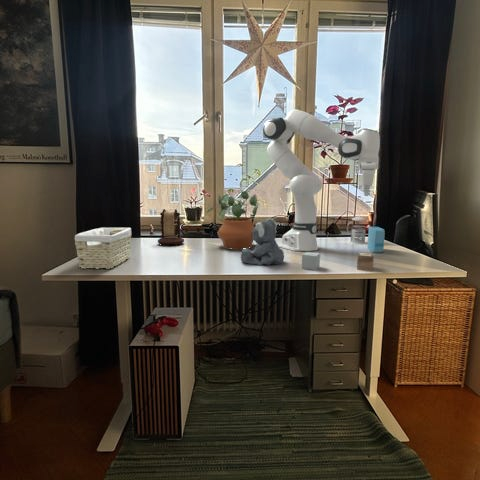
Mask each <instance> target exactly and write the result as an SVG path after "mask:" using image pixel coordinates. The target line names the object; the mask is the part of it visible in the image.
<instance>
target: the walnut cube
mask: <svg viewBox="0 0 480 480" xmlns="http://www.w3.org/2000/svg"><path fill="white" fill-rule="evenodd" d="M373 268H374V255H373V253H365V252H357V258H356V269H357V271H358V270H359V271H371V272H373V271H374V270H373Z"/></svg>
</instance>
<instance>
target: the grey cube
mask: <svg viewBox="0 0 480 480" xmlns="http://www.w3.org/2000/svg"><path fill="white" fill-rule="evenodd" d="M320 262H321V253H319V252H311V251H305V252H304V253H302V254H301V269H303V270H305V269H306V270H313V271H317V270H318V268H320V267H321V265H320V264H321V263H320Z"/></svg>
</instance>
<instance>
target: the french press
mask: <svg viewBox="0 0 480 480" xmlns="http://www.w3.org/2000/svg"><path fill="white" fill-rule="evenodd" d="M362 202H363V199H359V200H358V203H362ZM360 213H361V211H359V215H358V216H355V217H353V218H351V220H352V221H349V222H348V223H347V225H346V227H349V226H350V224H351V225H352V228H351V233H350V232H349V228H346V232H347V233H348V234H349V235H350V241H349V242H348V243H349V244H351V243H352V244H351V245H366V244H367V245H368V242H366V234H367V233H366V226H365V225H360V224H357V225H355V224H354V222H353V221H355V222H366V221H367V219H366V218H365V217H363V216H360V215H361V214H360Z"/></svg>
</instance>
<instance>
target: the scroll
mask: <svg viewBox="0 0 480 480" xmlns="http://www.w3.org/2000/svg"><path fill="white" fill-rule="evenodd" d="M180 215H181V213H180V212H178V210H177V208H175V209H174V210H173V211H167V210H166V209H165V208H163V209H162V212H160V222H159V223H160V225H161V226H160V231H161V237H160V238H159V239H157V243H158V244H161V245H173V244H174V245H175V246H176V245H177V246H178V244H182V243H184V242H185V239H184V238H183V237H181V224H182V223H181V221H180V220H181V218H180Z"/></svg>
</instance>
